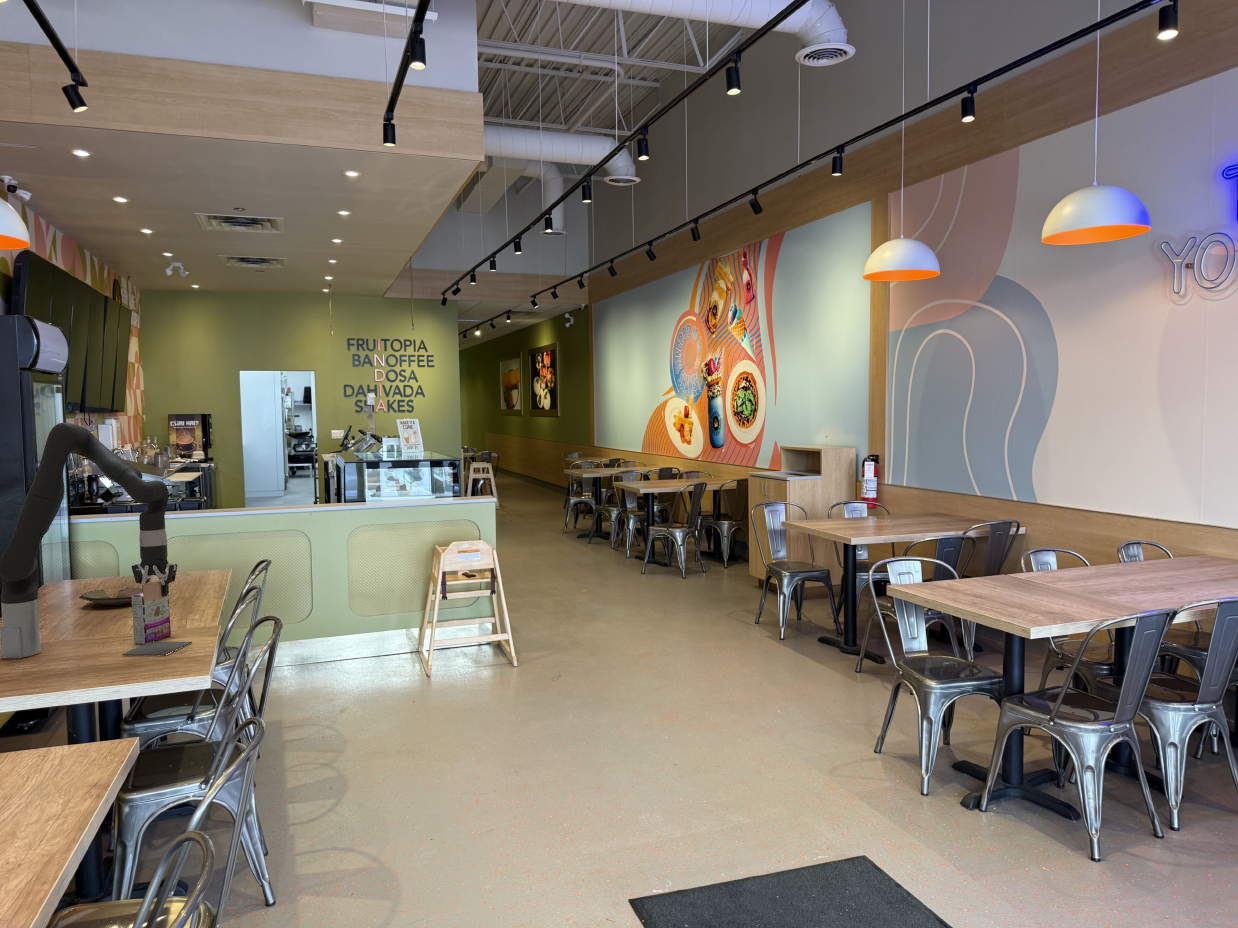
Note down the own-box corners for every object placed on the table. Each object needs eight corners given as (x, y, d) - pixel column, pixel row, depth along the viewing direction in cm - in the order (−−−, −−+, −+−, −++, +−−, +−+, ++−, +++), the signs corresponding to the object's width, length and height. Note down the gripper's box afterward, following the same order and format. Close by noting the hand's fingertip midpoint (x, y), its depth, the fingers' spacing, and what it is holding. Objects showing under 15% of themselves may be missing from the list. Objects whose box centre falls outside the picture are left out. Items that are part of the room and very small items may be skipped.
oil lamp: (80, 602, 320) (79, 584, 320) (165, 593, 337) (165, 575, 336) (78, 614, 302) (77, 594, 301) (168, 603, 318) (168, 584, 317)
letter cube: (159, 599, 250) (158, 583, 249) (143, 599, 250) (142, 583, 250) (168, 596, 255) (167, 579, 254) (153, 596, 255) (152, 580, 255)
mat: (165, 656, 246) (165, 654, 246) (122, 655, 246) (122, 653, 246) (192, 643, 260) (191, 641, 260) (150, 643, 260) (150, 641, 260)
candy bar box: (158, 635, 270) (156, 587, 269) (171, 635, 269) (169, 588, 268) (132, 644, 259) (130, 594, 258) (145, 644, 258) (143, 595, 257)
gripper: (123, 545, 248) (126, 599, 249) (168, 545, 247) (170, 598, 248) (139, 541, 255) (141, 593, 256) (182, 541, 255) (184, 593, 256)
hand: (156, 595), depth 252 cm, fingers closed on letter cube, 5 cm apart
